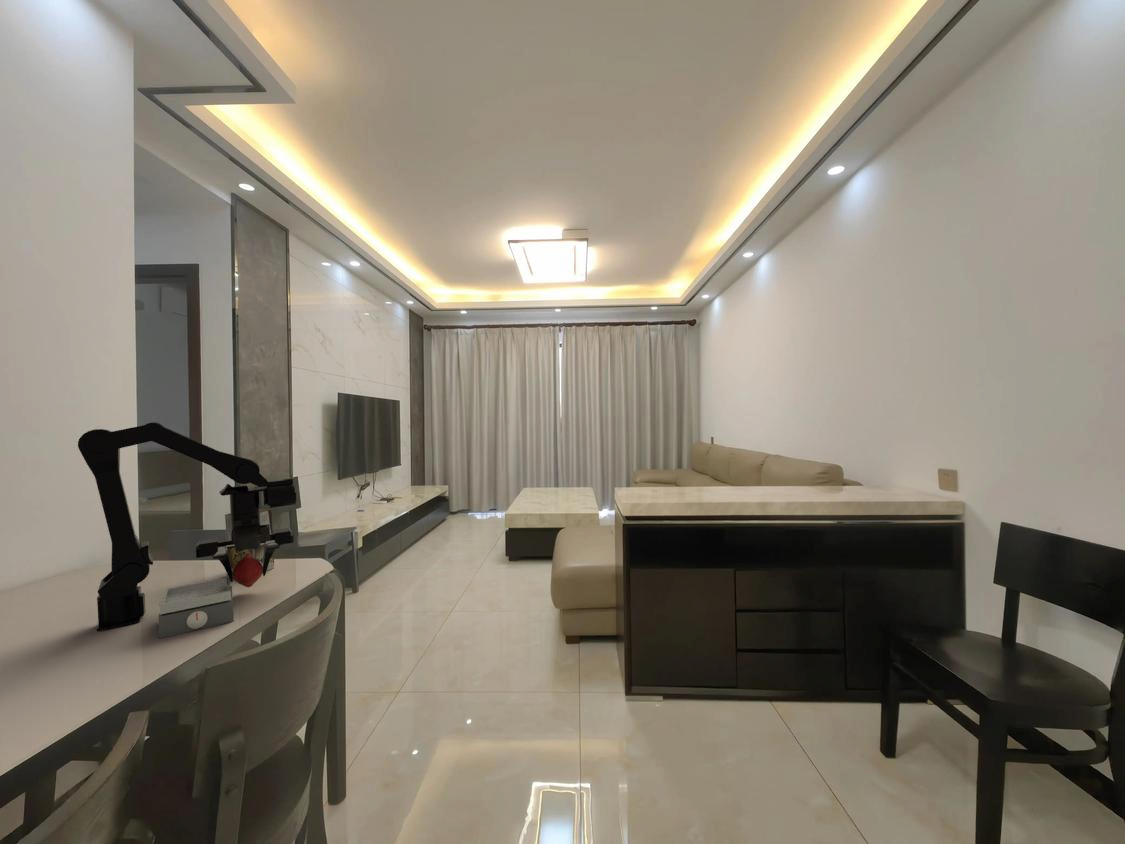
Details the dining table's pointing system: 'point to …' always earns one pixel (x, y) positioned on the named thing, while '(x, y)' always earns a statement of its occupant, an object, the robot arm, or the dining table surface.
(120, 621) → the robot arm
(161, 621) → the scale base
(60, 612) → the dining table surface
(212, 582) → the scale pan
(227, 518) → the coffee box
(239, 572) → the onion
